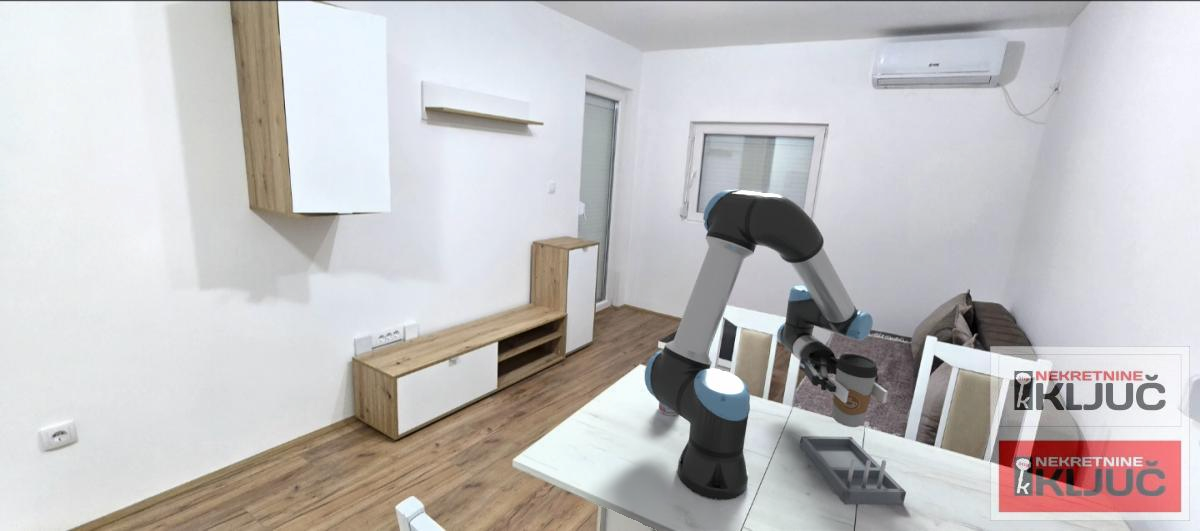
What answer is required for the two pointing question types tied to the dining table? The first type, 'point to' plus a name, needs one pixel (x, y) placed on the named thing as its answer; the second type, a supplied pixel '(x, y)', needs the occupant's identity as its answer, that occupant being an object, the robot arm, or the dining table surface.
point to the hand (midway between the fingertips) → (865, 397)
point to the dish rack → (851, 471)
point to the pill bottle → (666, 409)
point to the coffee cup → (854, 388)
